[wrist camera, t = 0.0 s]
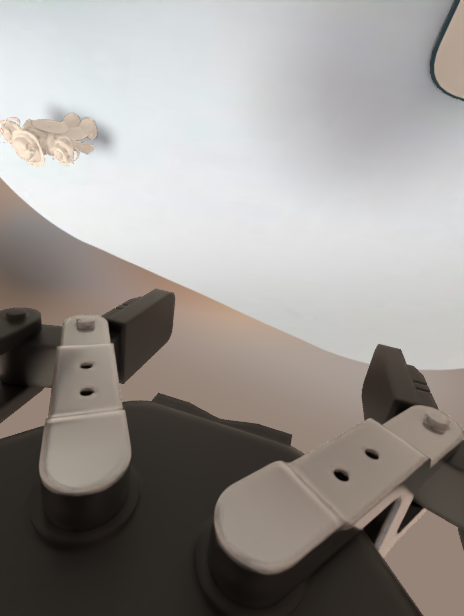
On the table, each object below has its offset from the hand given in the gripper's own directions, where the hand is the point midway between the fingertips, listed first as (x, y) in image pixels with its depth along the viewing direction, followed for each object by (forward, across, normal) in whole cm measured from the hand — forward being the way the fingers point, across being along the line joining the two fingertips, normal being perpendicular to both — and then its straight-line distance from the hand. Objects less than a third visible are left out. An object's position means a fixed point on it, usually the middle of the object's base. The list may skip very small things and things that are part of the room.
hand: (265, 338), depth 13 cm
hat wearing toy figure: (+31, +32, -8) cm, 45 cm away
